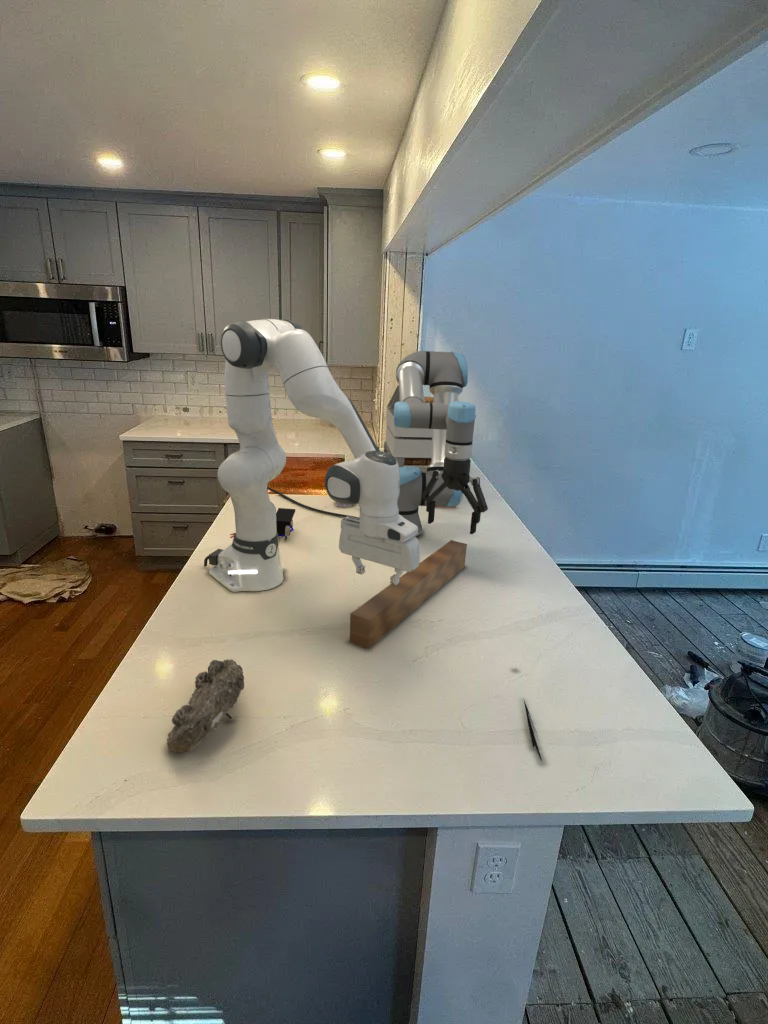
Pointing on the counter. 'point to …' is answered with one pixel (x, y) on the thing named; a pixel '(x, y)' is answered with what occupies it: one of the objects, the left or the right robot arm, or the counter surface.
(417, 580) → the bar
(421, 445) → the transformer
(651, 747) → the counter surface
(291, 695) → the counter surface
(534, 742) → the feather
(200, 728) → the fossil
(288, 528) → the figurine character
